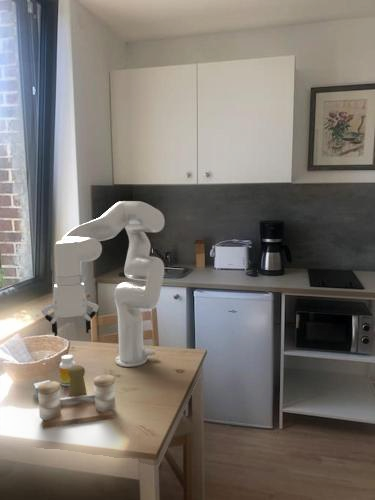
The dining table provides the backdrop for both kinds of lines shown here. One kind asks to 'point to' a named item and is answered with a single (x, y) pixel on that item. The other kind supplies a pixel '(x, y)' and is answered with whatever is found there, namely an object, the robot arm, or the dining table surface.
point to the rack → (76, 403)
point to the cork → (77, 381)
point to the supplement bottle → (66, 369)
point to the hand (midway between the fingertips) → (71, 333)
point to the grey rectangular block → (37, 388)
